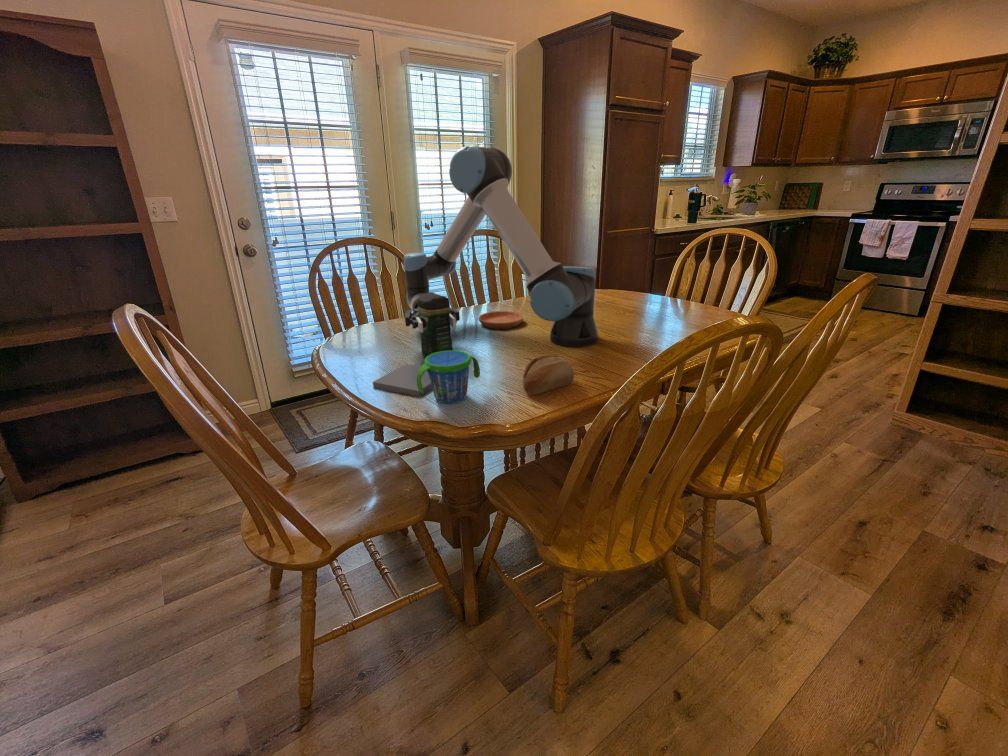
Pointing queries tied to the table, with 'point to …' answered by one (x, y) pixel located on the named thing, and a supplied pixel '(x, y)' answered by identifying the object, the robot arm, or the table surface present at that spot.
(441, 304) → the coffee jar
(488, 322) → the saucer
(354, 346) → the table surface
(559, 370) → the bread roll
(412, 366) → the stand
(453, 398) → the snack cup
